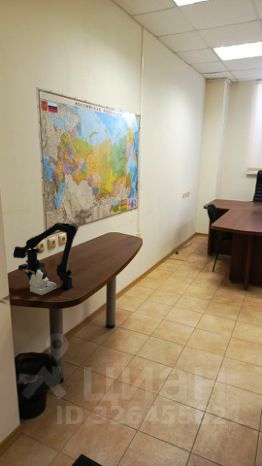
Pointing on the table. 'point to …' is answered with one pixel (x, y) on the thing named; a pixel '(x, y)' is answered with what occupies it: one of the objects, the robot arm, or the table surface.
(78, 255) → the table surface
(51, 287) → the holder
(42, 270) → the white stepped block
